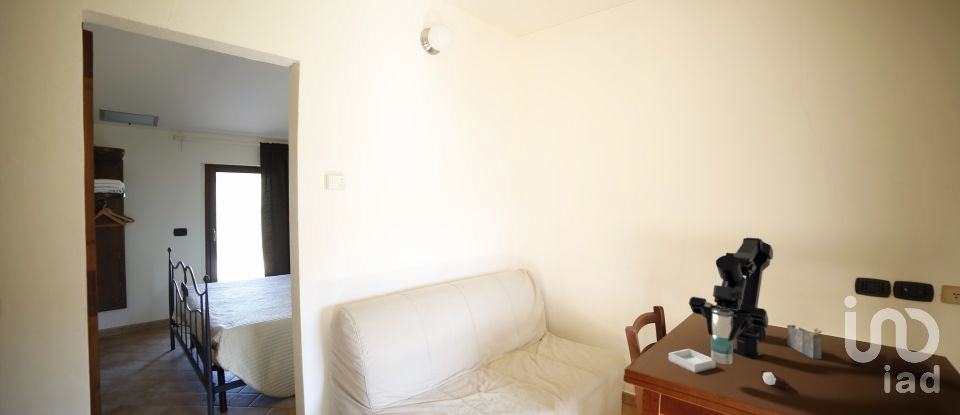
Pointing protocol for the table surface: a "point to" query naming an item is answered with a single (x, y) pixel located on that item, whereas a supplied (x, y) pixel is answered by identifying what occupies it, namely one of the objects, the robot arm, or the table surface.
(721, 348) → the tin canister
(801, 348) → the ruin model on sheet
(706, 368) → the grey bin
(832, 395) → the table surface
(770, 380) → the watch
